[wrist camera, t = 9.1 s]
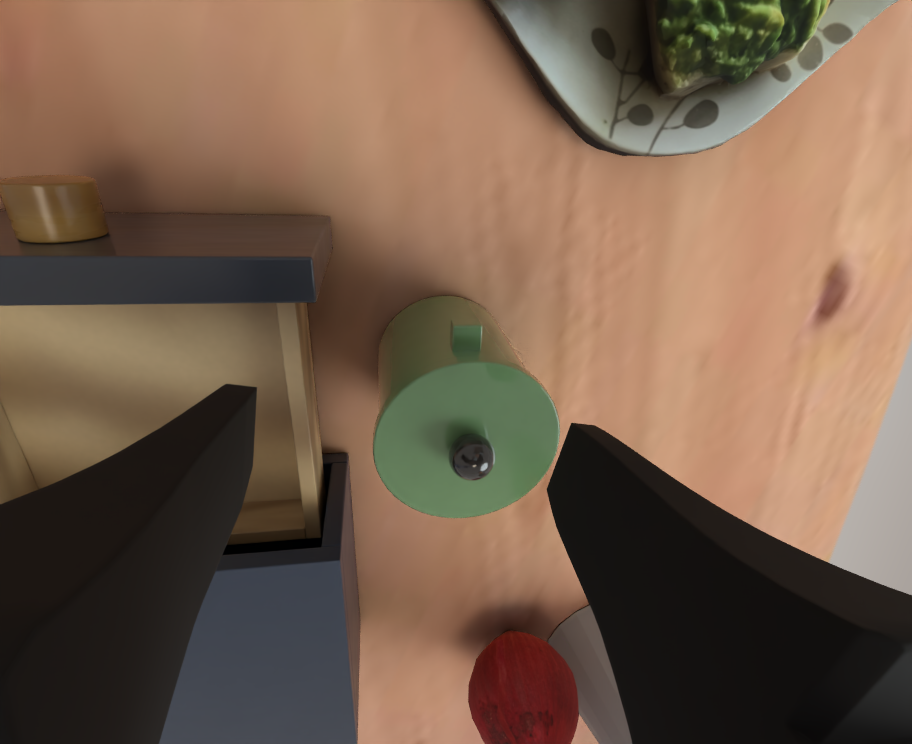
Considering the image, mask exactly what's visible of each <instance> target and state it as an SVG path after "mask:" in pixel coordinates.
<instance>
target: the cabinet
mask: <svg viewBox="0 0 912 744" xmlns="http://www.w3.org/2000/svg"><path fill="white" fill-rule="evenodd" d="M322 459H323V469H324V479H325V489H326V505H325V514H324V522H323V530H322V537H321V538H310V539H307V538H306V539H297V540H285V541H272V542H259V543H246V544H234V545H226V547H225V550H224V552H223V555H222V557H221V559H220V562H219V564H218V567H217V569H216V571H215V574H214V576H213V579H212V581H211V583H210V586H209V588H208V591H207V593H206V595H205V598H204V600H203V603H202V605H201V608H200V611H199V613H198V616H197V619H196V622H195V624H194V627H193V630H192V634H191V637H190V640H189V644H188V647H187V650H186V654H185V657H184V660H183V663H182V667H181V670H180V673H179V677H178V680H177V683H176V687H175V690H174V694H173V697H172V701H171V704H170V707H169V711H168V714H167V718H166V721H165V725H164V728H163V732H162V735H161V738H160V742H159V744H357V740H358V729H357V728H358V699H359V660H360V611H359V597H358V583H357V569H356V555H355V541H354V527H353V513H352V499H351V485H350V471H349V457H348V453H339V454H322Z"/></svg>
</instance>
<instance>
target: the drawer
mask: <svg viewBox="0 0 912 744" xmlns="http://www.w3.org/2000/svg"><path fill="white" fill-rule="evenodd" d="M0 195H1V198H2V200H3V203H4V206H5V209H6V211H0V504H3V503H5V502H8V501H10V500H13V499H15V498H18V497H20V496H23V495H25V494H28V493H30V492H33V491H36V490H38V489H41V488H43V487H46V486H48V485H51V484H53V483H55V482H58V481H60V480H62V479H64V478H67V477H69V476H71V475H73V474H75V473H77V472H79V471H81V470H84V469H86V468H88V467H90V466H92V465H94V464H96V463H98V462H100V461H102V460H104V459H106V458H108V457H110V456H112V455H114V454H116V453H118V452H119V451H121V450H123V449H125V448H126V447H128V446H130V445H131V444H133V443H135V442H137V441H138V440H140V439H142V438H143V437H145V436H147V435H149V434H150V433H152V432H154V431H156V430H157V429H159V428H161V427H162V426H164V425H165V424H167V423H168V422H170V421H171V420H173V419H174V418H176V417H178V416H179V415H181V414H182V413H184V412H185V411H187V410H188V409H189V408H191V407H192V406H194V405H195V404H197V403H198V402H200V401H201V400H203V399H204V398H205V397H207V396H208V395H210V394H211V393H213V392H214V391H216V390H217V389H219V388H220V387H222V386H223V385H225V384H234V385H243V386H252V387H257V400H256V419H255V438H254V456H253V468H252V472H251V476H250V479H249V483H248V487H247V491H246V494H245V498H244V502H243V505H242V508H241V511H240V513H239V516H238V518H237V521H236V523H235V526H234V528H233V530H232V533H231V535H230V538H229V540H228V543H227V545H234V544H246V543H259V542H272V541H285V540H297V539H306V538H307V539H310V538H321V537H322V530H323V522H324V514H325V505H326V489H325V479H324V469H323V459H322V449H321V440H320V430H319V420H318V410H317V400H316V390H315V380H314V370H313V360H312V350H311V341H310V331H309V321H308V311H307V303H314V302H316V301H317V297H318V294H319V291H320V288H321V284H322V281H323V278H324V275H325V272H326V268H327V265H328V262H329V259H330V255H331V252H332V249H333V247H332V233H331V219H330V217H329V216H298V215H233V214H168V213H104V210H103V206H102V203H101V199H100V195H99V192H98V188H97V184H96V181H95V179H93V178H90V177H85V176H71V175H42V176H22V177H11V178H5V179H1V180H0Z"/></svg>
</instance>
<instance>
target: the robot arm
mask: <svg viewBox="0 0 912 744" xmlns="http://www.w3.org/2000/svg"><path fill="white" fill-rule="evenodd" d="M256 400H257V387H252V386H243V385H234V384H225V385H223V386H222V387H220V388H219V389H217V390H216V391H214V392H213V393H211V394H210V395H208V396H207V397H205V398H204V399H203V400H201V401H200V402H198V403H197V404H195V405H194V406H192V407H191V408H189V409H188V410H187V411H185V412H184V413H182V414H181V415H179V416H178V417H176V418H174V419H173V420H171V421H170V422H168V423H167V424H165V425H164V426H162V427H161V428H159V429H157V430H156V431H154V432H152V433H150V434H149V435H147V436H145V437H143V438H142V439H140V440H138V441H137V442H135V443H133V444H131V445H130V446H128V447H126V448H125V449H123V450H121V451H119V452H118V453H116V454H114V455H112V456H110V457H108V458H106V459H104V460H102V461H100V462H98V463H96V464H94V465H92V466H90V467H88V468H86V469H84V470H81V471H79V472H77V473H75V474H73V475H71V476H69V477H67V478H64V479H62V480H60V481H58V482H55V483H53V484H51V485H48V486H46V487H43V488H41V489H38V490H36V491H33V492H30V493H28V494H25V495H23V496H20V497H18V498H15V499H13V500H10V501H8V502H5V503H3V504H0V744H159V742H160V738H161V735H162V732H163V728H164V725H165V721H166V718H167V714H168V711H169V707H170V704H171V701H172V697H173V694H174V690H175V687H176V683H177V680H178V677H179V673H180V670H181V667H182V663H183V660H184V657H185V654H186V650H187V647H188V644H189V640H190V637H191V634H192V630H193V627H194V624H195V622H196V619H197V616H198V613H199V611H200V608H201V605H202V603H203V600H204V598H205V595H206V593H207V591H208V588H209V586H210V583H211V581H212V579H213V576H214V574H215V571H216V569H217V567H218V564H219V562H220V559H221V557H222V555H223V552H224V550H225V547H226V545H227V543H228V540H229V538H230V535H231V533H232V530H233V528H234V526H235V523H236V521H237V518H238V516H239V513H240V511H241V508H242V505H243V502H244V498H245V494H246V491H247V487H248V483H249V479H250V476H251V472H252V468H253V456H254V438H255V419H256ZM547 493H548V497H549V501H550V505H551V509H552V513H553V516H554V520H555V523H556V527H557V529H558V532H559V534H560V537H561V539H562V541H563V544H564V546H565V549H566V551H567V553H568V556H569V558H570V560H571V563H572V565H573V567H574V570H575V572H576V574H577V577H578V579H579V581H580V583H581V586H582V588H583V590H584V593H585V595H586V597H587V600H588V602H589V604H590V607H591V609H592V611H593V614H594V617H595V619H596V622H597V624H598V627H599V630H600V633H601V636H602V639H603V642H604V645H605V648H606V652H607V655H608V658H609V661H610V664H611V667H612V671H613V674H614V677H615V681H616V685H617V688H618V692H619V695H620V699H621V702H622V706H623V709H624V713H625V717H626V720H627V724H628V728H629V732H630V736H631V740H632V744H912V595H909V594H906V593H903V592H901V591H897V590H895V589H892V588H889V587H887V586H884V585H881V584H879V583H876V582H874V581H871V580H869V579H866V578H864V577H861V576H859V575H856V574H854V573H851V572H849V571H846V570H844V569H842V568H839V567H837V566H835V565H832V564H830V563H828V562H825V561H823V560H821V559H819V558H816V557H814V556H812V555H810V554H808V553H806V552H803V551H801V550H799V549H797V548H795V547H793V546H791V545H789V544H787V543H785V542H782V541H780V540H778V539H776V538H774V537H772V536H770V535H768V534H766V533H765V532H763V531H761V530H759V529H757V528H755V527H753V526H752V525H750V524H748V523H746V522H744V521H742V520H741V519H739V518H737V517H735V516H733V515H732V514H730V513H728V512H726V511H725V510H723V509H721V508H720V507H718V506H716V505H715V504H713V503H711V502H710V501H708V500H707V499H705V498H703V497H702V496H700V495H699V494H697V493H696V492H694V491H692V490H691V489H689V488H688V487H686V486H685V485H683V484H682V483H680V482H679V481H677V480H676V479H674V478H673V477H671V476H670V475H668V474H667V473H665V472H664V471H662V470H661V469H660V468H658V467H657V466H655V465H654V464H652V463H651V462H650V461H648V460H647V459H645V458H644V457H642V456H641V455H640V454H638V453H637V452H635V451H634V450H632V449H631V448H630V447H628V446H627V445H625V444H624V443H622V442H621V441H619V440H618V439H616V438H615V437H613V436H612V435H610V434H609V433H607V432H605V431H604V430H602V429H600V428H598V427H596V426H594V425H586V424H577V423H571V426H570V428H569V431H568V434H567V436H566V439H565V442H564V444H563V447H562V450H561V452H560V455H559V458H558V460H557V463H556V466H555V469H554V471H553V474H552V477H551V479H550V482H549V485H548V487H547Z"/></svg>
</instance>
